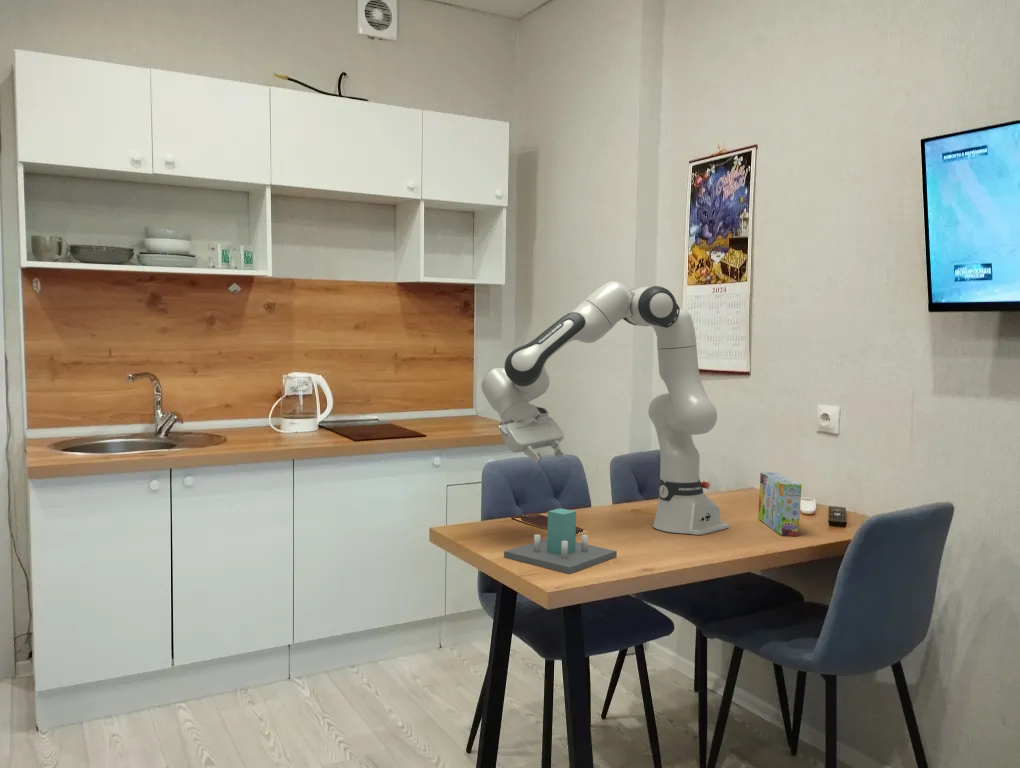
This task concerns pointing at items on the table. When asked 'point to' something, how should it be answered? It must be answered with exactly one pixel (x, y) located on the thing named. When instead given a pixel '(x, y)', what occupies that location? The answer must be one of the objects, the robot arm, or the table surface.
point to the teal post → (561, 530)
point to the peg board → (561, 555)
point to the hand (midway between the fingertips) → (550, 458)
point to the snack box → (779, 503)
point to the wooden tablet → (540, 521)
